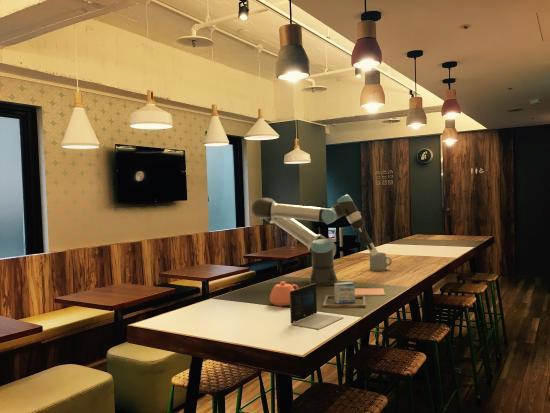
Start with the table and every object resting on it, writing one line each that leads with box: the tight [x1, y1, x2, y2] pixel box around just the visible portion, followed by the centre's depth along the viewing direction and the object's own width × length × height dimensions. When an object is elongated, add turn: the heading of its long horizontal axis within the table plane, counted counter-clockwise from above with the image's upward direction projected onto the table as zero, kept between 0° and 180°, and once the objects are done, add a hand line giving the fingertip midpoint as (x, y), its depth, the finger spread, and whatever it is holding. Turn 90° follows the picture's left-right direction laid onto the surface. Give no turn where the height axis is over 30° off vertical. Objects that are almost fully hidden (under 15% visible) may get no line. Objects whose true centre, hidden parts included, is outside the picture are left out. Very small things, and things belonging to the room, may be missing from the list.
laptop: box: [289, 283, 344, 330], centre depth 175 cm, size 18×12×13 cm
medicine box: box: [333, 281, 356, 304], centre depth 203 cm, size 8×4×9 cm, turn 105°
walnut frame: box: [322, 295, 367, 308], centre depth 203 cm, size 18×18×1 cm
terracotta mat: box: [354, 287, 386, 296], centre depth 222 cm, size 14×14×1 cm
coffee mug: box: [369, 251, 393, 272], centre depth 285 cm, size 13×10×10 cm
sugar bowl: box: [269, 281, 299, 308], centre depth 204 cm, size 12×14×10 cm
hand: (375, 254), depth 252 cm, fingers open, 13 cm apart
